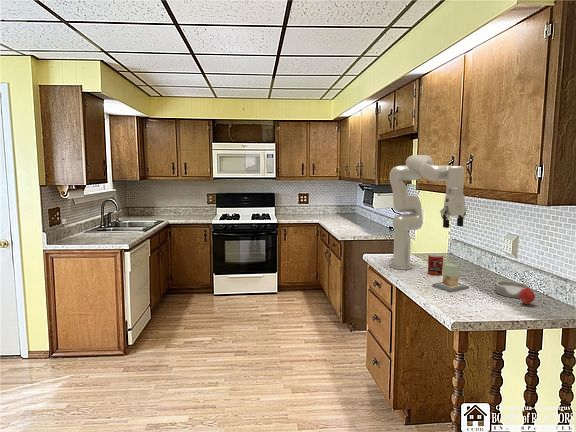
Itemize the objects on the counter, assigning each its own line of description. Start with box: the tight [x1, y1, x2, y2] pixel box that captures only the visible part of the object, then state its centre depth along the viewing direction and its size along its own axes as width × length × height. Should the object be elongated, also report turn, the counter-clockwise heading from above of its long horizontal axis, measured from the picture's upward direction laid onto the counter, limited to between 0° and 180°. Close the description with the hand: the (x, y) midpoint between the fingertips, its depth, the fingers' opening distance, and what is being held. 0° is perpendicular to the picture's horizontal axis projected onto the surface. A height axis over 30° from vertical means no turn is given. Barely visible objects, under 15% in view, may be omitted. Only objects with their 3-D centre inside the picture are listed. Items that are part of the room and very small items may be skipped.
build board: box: [431, 281, 470, 293], centre depth 196 cm, size 11×13×1 cm
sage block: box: [442, 263, 460, 277], centre depth 195 cm, size 5×5×5 cm
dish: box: [493, 280, 531, 299], centre depth 186 cm, size 14×14×5 cm
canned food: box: [427, 252, 444, 277], centre depth 221 cm, size 8×8×11 cm
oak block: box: [442, 274, 459, 287], centre depth 196 cm, size 5×5×5 cm
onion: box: [519, 286, 536, 305], centre depth 171 cm, size 6×6×8 cm
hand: (453, 226), depth 193 cm, fingers open, 9 cm apart
